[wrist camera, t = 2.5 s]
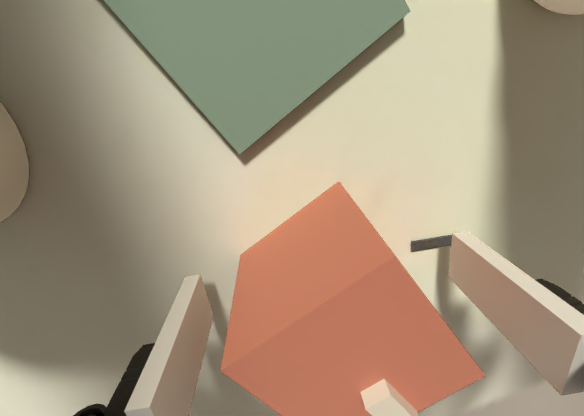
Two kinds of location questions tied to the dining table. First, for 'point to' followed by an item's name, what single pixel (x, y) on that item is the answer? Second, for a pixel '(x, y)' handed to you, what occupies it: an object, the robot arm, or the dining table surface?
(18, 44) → the dining table surface
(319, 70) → the pad
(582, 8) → the water bottle
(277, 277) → the orange box with tab
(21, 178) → the mug
